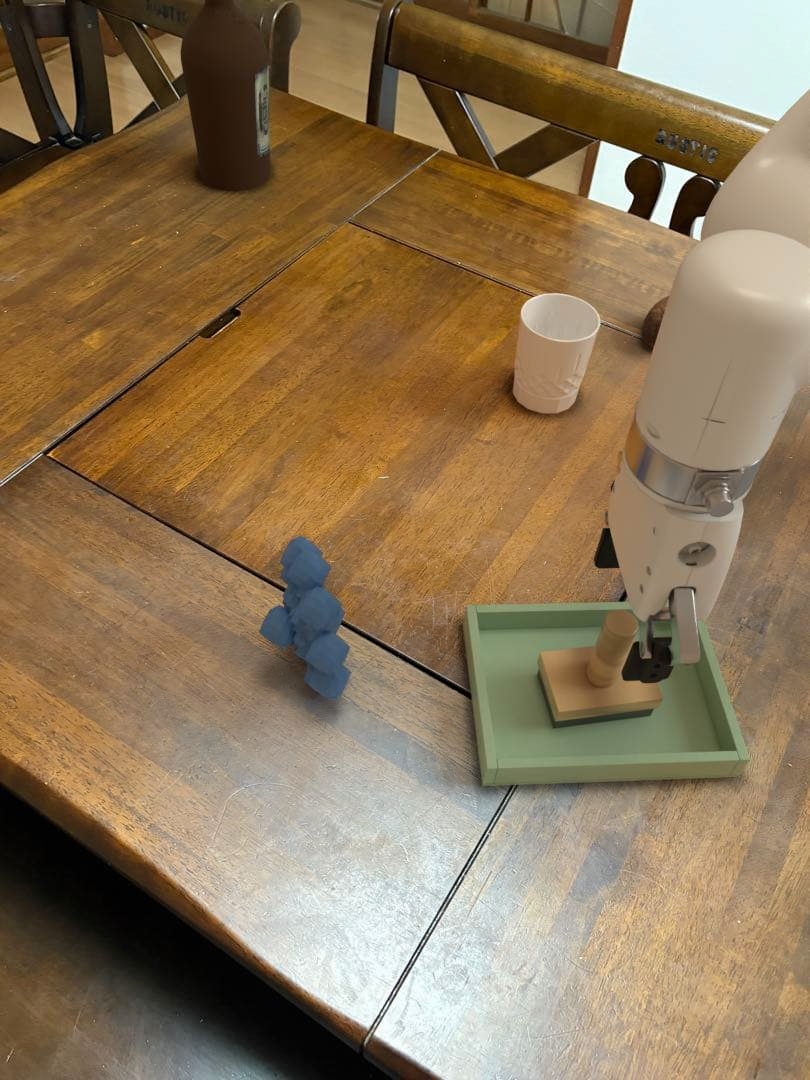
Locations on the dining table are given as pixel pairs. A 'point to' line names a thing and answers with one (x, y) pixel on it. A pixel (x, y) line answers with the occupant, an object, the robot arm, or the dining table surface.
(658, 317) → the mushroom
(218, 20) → the olive oil
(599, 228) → the dining table surface
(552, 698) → the brush
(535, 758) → the tray
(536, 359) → the white cup
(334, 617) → the grapes
